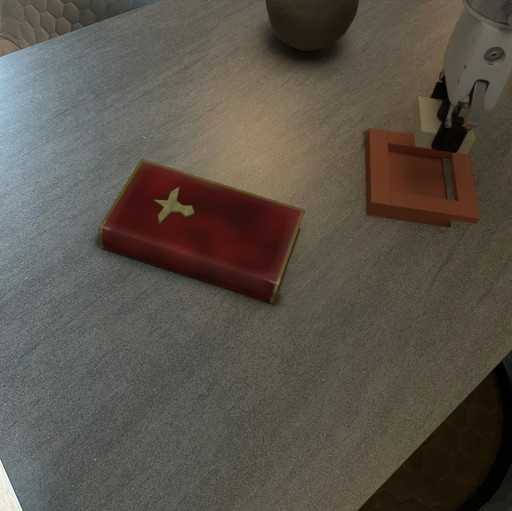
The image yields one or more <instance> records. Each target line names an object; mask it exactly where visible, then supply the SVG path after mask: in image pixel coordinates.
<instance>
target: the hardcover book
mask: <svg viewBox="0 0 512 511" xmlns="http://www.w3.org/2000/svg"><path fill="white" fill-rule="evenodd" d="M305 214H306V209H304V208H300V207H297V206H294V205H291V204H287V203H284V202H282V201H279V200H275V199H272V198H268V197H266V196H262V195H259V194H255V193H253V192H250V191H246V190H243V189H239V188H236V187H233V186H230V185H227V184H224V183H220V182H217V181H214V180H212V179H208V178H205V177H201V176H198V175H194V174H192V173H189V172H186V171H182V170H178V169H176V168H173V167H170V166H166V165H163V164H160V163H156V162H154V161H151V160H148V159H143V158H140V160H139V161H138V163H137V164H136V166H135V168H134V169H133V171H132V172H131V174H130V176H129V177H128V179H127V180H126V182H125V184H124V185H123V187H122V189H121V190H120V192H119V194H118V195H117V197H116V198H115V200H114V201H113V203H112V205H111V207H110V208H109V209H108V212H106V215H105V216H104V217H103V220H102V221H101V222H100V224H99V226H98V230H97V233H98V243H99V244H98V245H99V247H100V248H101V249H104V250H107V251H110V252H113V253H116V254H120V255H123V256H125V257H128V258H131V259H134V260H137V261H141V262H144V263H147V264H150V265H153V266H156V267H158V268H162V269H165V270H167V271H171V272H173V273H177V274H179V275H183V276H186V277H188V278H192V279H195V280H199V281H201V282H205V283H208V284H211V285H214V286H216V287H220V288H224V289H226V290H229V291H232V292H235V293H239V294H240V295H244V296H247V297H250V298H254V299H257V300H259V301H263V302H265V303H269V304H271V305H275V303H276V300H277V296H278V294H279V291H280V288H281V286H282V282H283V280H284V276H285V275H286V270H287V268H288V265H289V262H290V259H291V256H292V254H293V251H294V248H295V246H296V242H297V239H298V237H299V234H300V230H301V224H302V222H303V220H304V216H305Z"/></svg>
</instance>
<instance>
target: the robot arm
mask: <svg viewBox="0 0 512 511" xmlns="http://www.w3.org/2000/svg"><path fill="white" fill-rule="evenodd" d="M462 4H463V6H464V7H463V9H462V11H461V13H460V15H459V16H458V18H457V21H456V23H455V25H454V27H453V29H452V31H451V34H450V37H449V39H448V42H447V44H446V47H445V50H444V54H443V68H442V69H441V71H440V72H439V74H438V81H436V83H435V85H434V87H433V90H432V92H431V94H430V97H429V98H433V99H439V100H444V99H445V98H449V100H450V102H451V106H450V109H449V112H448V115H447V119H446V121H442V123H441V125H440V127H439V129H438V131H437V133H436V136H435V138H434V140H433V142H432V144H431V146H432V149H433V150H438V151H444V152H451V153H456V152H458V150H459V148H460V146H461V144H462V142H463V141H464V139H465V137H466V135H467V133H468V131H470V130H471V129H473V130H474V129H476V128H478V127H479V125H480V123H481V118H482V117H481V116H482V112H483V111H484V112H487V113H490V112H491V111H492V110H493V109H494V107H495V106H496V104H497V102H498V100H499V98H500V96H501V94H502V92H503V90H504V88H505V86H506V83H507V82H508V79H509V77H510V75H511V73H512V0H462ZM467 97H468V100H465V99H466V98H467ZM458 107H461V108H467V112H466V114H465V115H464V116H463V117H460V116H459V117H455V115H456V112H457V109H458Z"/></svg>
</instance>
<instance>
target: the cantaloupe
mask: <svg viewBox="0 0 512 511" xmlns="http://www.w3.org/2000/svg"><path fill="white" fill-rule="evenodd" d="M359 3H360V0H265V7H266V11H267V16H268V20H269V23H270V26H271V28H272V30H273V32H274V34H275V35H276V36H277V38H278V39H279V40H280V41H281V43H284V44H286V45H287V47H291V48H295V49H296V50H297V51H301V52H312V51H318V50H319V51H321V50H323V49H325V48H328V47H330V46H331V45H333V44H335V43H336V42H337V41H339V40H340V39H342V37H343V36H344V35H346V32H347V31H348V30H349V28H350V27H351V25H352V23H353V22H354V20H355V18H356V16H357V13H358V9H359Z"/></svg>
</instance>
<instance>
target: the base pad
mask: <svg viewBox="0 0 512 511" xmlns="http://www.w3.org/2000/svg"><path fill="white" fill-rule="evenodd" d="M364 155H365V156H364V159H365V166H364V167H365V211H366V212H365V214H366V215H367V216H372V217H380V218H386V219H393V220H399V221H406V222H410V223H411V222H412V223H420V224H426V225H432V226H438V227H444V228H452V222H451V221H455V222H456V221H458V222H464V223H470V224H477V223H478V222H479V220H480V219H481V218H480V212H479V206H478V200H477V193H476V187H475V182H474V181H475V180H474V175H473V170H472V163H471V156H470V151H469V152H468V154H461V153H451V152H444V151H438V150H433V149H430V148H423V147H417V146H415V138H414V134H411V133H404V132H397V131H391V130H387V129H386V130H385V129H381V128H380V129H379V128H373V127H369V128H368V130H367V134H366V137H365V140H364ZM444 158H447V159H449V167H450V174H451V181H452V190H453V196H454V199H449V198H448V191H447V183H446V174H445V168H444V167H445V166H444Z"/></svg>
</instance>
